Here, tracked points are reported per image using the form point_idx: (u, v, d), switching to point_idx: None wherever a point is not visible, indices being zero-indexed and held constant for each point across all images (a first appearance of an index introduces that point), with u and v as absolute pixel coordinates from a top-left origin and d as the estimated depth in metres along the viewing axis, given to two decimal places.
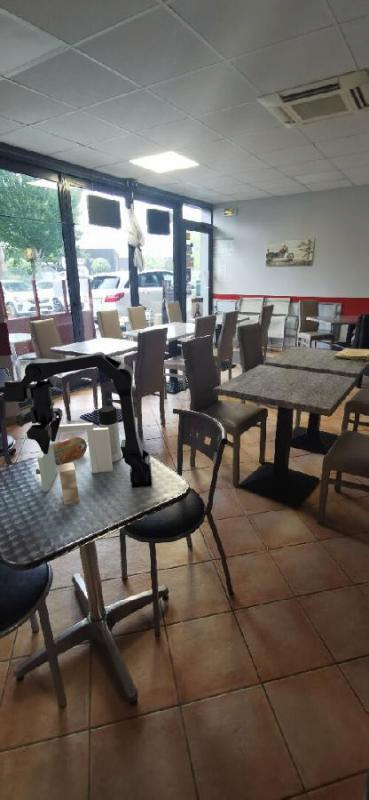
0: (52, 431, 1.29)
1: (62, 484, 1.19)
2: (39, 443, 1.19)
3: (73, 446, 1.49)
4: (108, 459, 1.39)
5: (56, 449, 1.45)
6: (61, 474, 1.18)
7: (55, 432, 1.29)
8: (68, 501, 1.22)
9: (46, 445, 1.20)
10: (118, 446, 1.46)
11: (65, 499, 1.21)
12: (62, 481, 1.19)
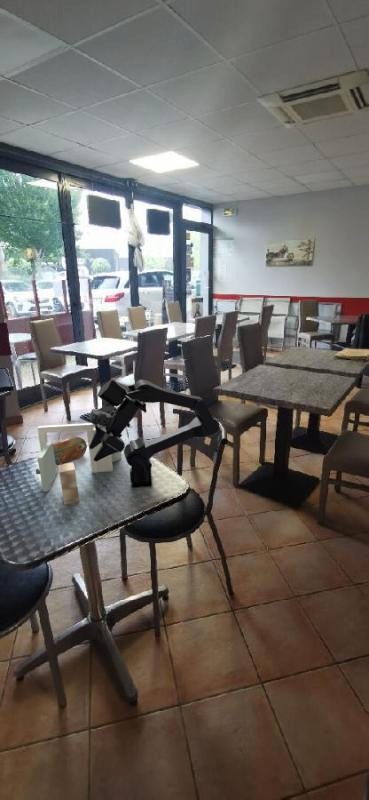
0: (97, 440, 1.27)
1: (62, 484, 1.19)
2: (102, 449, 1.17)
3: (73, 446, 1.49)
4: (108, 459, 1.39)
5: (56, 449, 1.45)
6: (61, 474, 1.18)
7: (98, 442, 1.27)
8: (68, 501, 1.22)
9: (104, 455, 1.18)
10: None
11: (65, 499, 1.21)
12: (62, 481, 1.19)
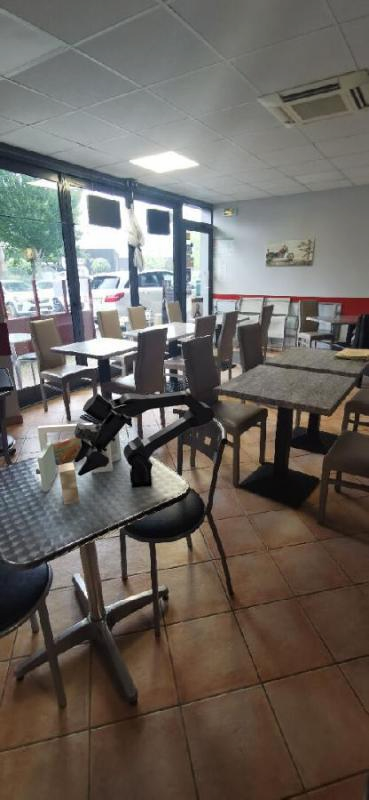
0: (82, 453, 1.26)
1: (62, 484, 1.19)
2: (86, 464, 1.16)
3: (73, 446, 1.49)
4: None
5: (56, 449, 1.45)
6: (61, 474, 1.18)
7: (84, 456, 1.27)
8: (68, 501, 1.22)
9: (88, 469, 1.18)
10: (118, 446, 1.46)
11: (65, 499, 1.21)
12: (62, 481, 1.19)
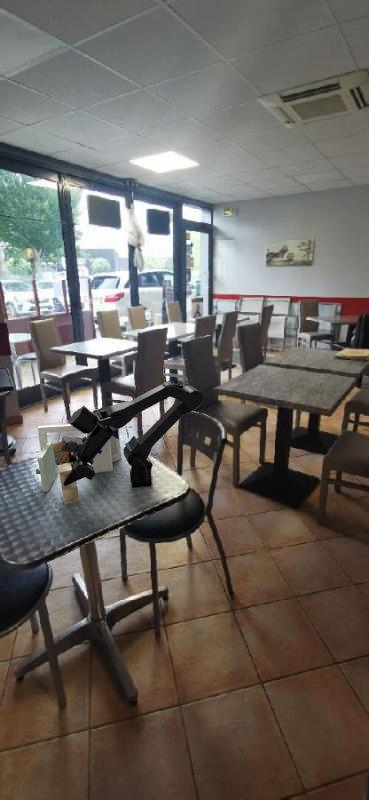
0: None
1: (62, 484, 1.19)
2: (71, 474, 1.18)
3: None
4: (108, 459, 1.39)
5: (56, 449, 1.45)
6: (61, 474, 1.18)
7: None
8: (68, 500, 1.22)
9: (73, 480, 1.19)
10: (118, 446, 1.46)
11: (65, 499, 1.21)
12: (62, 481, 1.19)
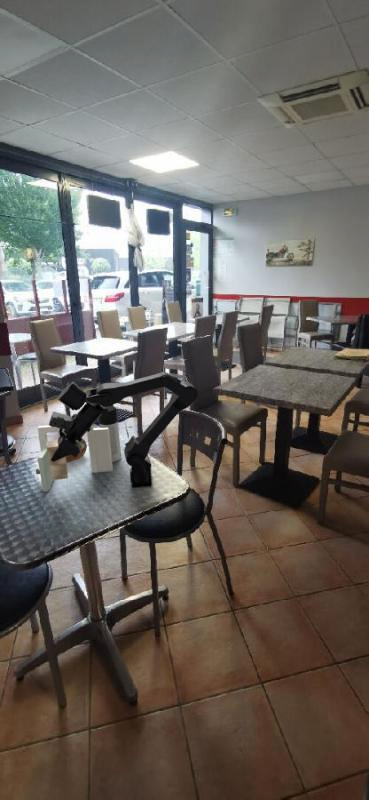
0: None
1: (50, 460, 1.19)
2: (58, 450, 1.17)
3: None
4: (108, 459, 1.39)
5: None
6: (49, 449, 1.18)
7: None
8: (56, 477, 1.21)
9: (61, 456, 1.18)
10: (118, 446, 1.46)
11: (53, 475, 1.21)
12: (50, 457, 1.19)
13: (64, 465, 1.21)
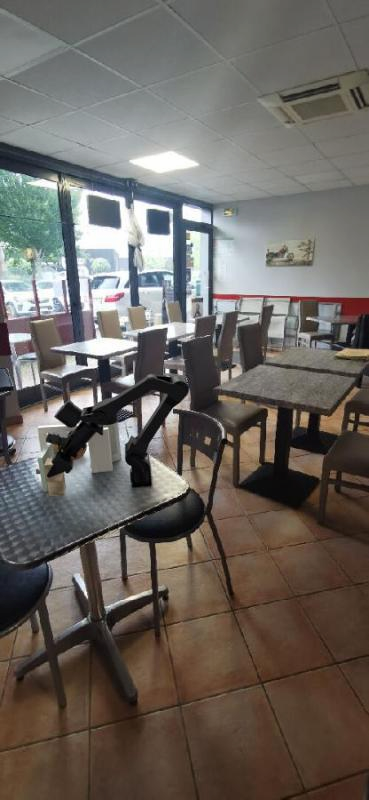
0: None
1: None
2: (53, 467, 1.20)
3: None
4: (108, 459, 1.39)
5: (56, 449, 1.45)
6: (46, 467, 1.23)
7: None
8: (53, 493, 1.26)
9: (55, 473, 1.22)
10: (118, 446, 1.46)
11: (50, 491, 1.26)
12: None
13: (60, 482, 1.25)
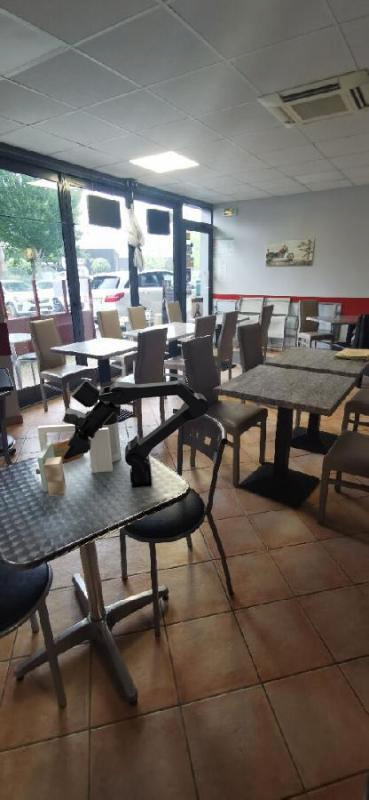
0: None
1: (47, 476, 1.24)
2: (70, 448, 1.18)
3: None
4: (108, 459, 1.39)
5: (56, 449, 1.45)
6: (46, 467, 1.23)
7: None
8: (53, 493, 1.26)
9: (73, 454, 1.19)
10: (118, 446, 1.46)
11: (50, 491, 1.26)
12: (47, 474, 1.24)
13: (60, 482, 1.25)
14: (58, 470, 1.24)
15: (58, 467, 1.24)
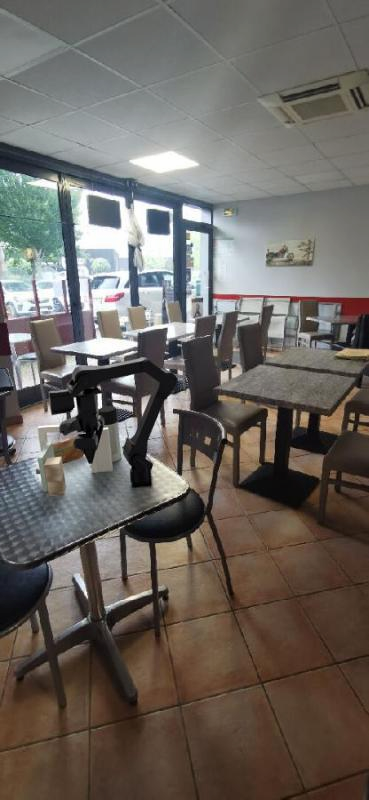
0: None
1: (47, 476, 1.24)
2: (85, 452, 1.15)
3: (73, 446, 1.49)
4: (108, 459, 1.39)
5: (56, 449, 1.45)
6: (46, 467, 1.23)
7: (97, 440, 1.26)
8: (53, 493, 1.26)
9: (92, 455, 1.16)
10: (118, 446, 1.46)
11: (50, 491, 1.26)
12: (47, 474, 1.24)
13: (60, 482, 1.25)
14: (58, 470, 1.24)
15: (58, 467, 1.24)
